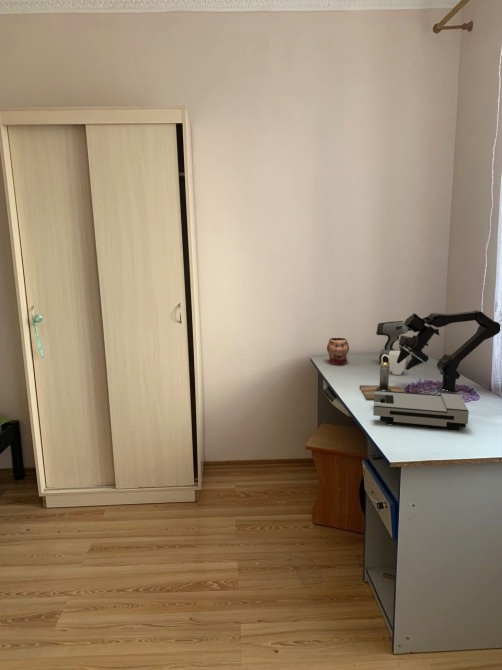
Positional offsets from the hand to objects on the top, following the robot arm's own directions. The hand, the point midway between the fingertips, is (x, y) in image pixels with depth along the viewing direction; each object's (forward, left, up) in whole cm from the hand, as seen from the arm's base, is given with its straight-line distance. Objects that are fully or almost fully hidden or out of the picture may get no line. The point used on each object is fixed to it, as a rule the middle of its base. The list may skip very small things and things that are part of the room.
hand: (401, 366), depth 209 cm
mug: (+28, -3, -11) cm, 30 cm away
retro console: (-35, +3, -12) cm, 37 cm away
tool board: (-6, +9, -11) cm, 16 cm away
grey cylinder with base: (-6, +9, -10) cm, 15 cm away
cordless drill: (+47, -10, -11) cm, 49 cm away
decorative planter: (+51, +22, -12) cm, 57 cm away
